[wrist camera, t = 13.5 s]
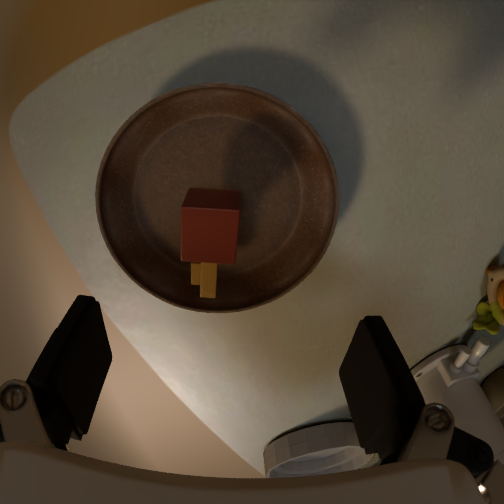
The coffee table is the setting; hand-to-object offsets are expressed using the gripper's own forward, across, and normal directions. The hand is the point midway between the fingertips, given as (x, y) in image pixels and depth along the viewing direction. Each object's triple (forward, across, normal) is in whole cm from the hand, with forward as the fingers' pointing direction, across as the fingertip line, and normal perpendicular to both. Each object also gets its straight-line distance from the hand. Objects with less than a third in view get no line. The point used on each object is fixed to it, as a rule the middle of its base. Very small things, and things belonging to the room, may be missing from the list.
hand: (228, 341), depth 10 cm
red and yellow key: (+9, +1, +1) cm, 9 cm away
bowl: (+13, -15, +35) cm, 40 cm away
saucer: (+12, +1, -1) cm, 12 cm away
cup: (+13, -47, +25) cm, 55 cm away
